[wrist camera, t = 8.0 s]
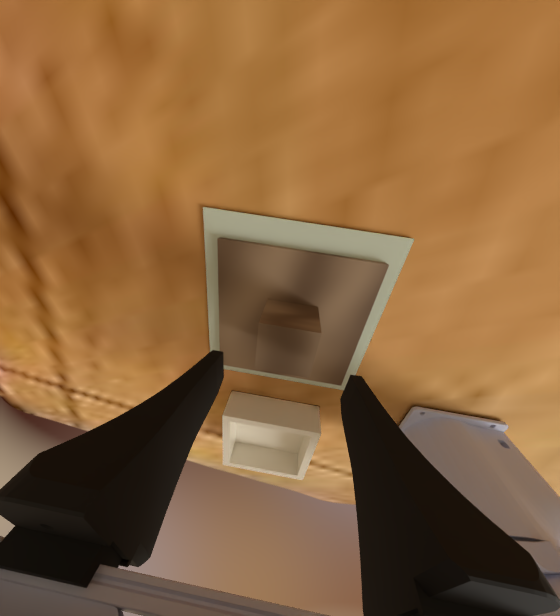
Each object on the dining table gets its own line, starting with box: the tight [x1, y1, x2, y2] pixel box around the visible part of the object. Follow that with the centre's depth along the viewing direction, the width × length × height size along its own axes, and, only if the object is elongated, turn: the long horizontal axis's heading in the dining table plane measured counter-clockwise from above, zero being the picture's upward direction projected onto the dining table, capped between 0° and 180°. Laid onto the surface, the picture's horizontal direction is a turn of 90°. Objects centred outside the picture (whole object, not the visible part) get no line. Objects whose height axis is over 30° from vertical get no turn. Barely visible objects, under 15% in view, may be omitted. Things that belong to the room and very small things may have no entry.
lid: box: [217, 237, 389, 386], centre depth 15 cm, size 12×12×4 cm
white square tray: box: [222, 391, 321, 480], centre depth 24 cm, size 10×10×3 cm
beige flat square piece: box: [203, 207, 414, 390], centre depth 17 cm, size 14×15×1 cm
